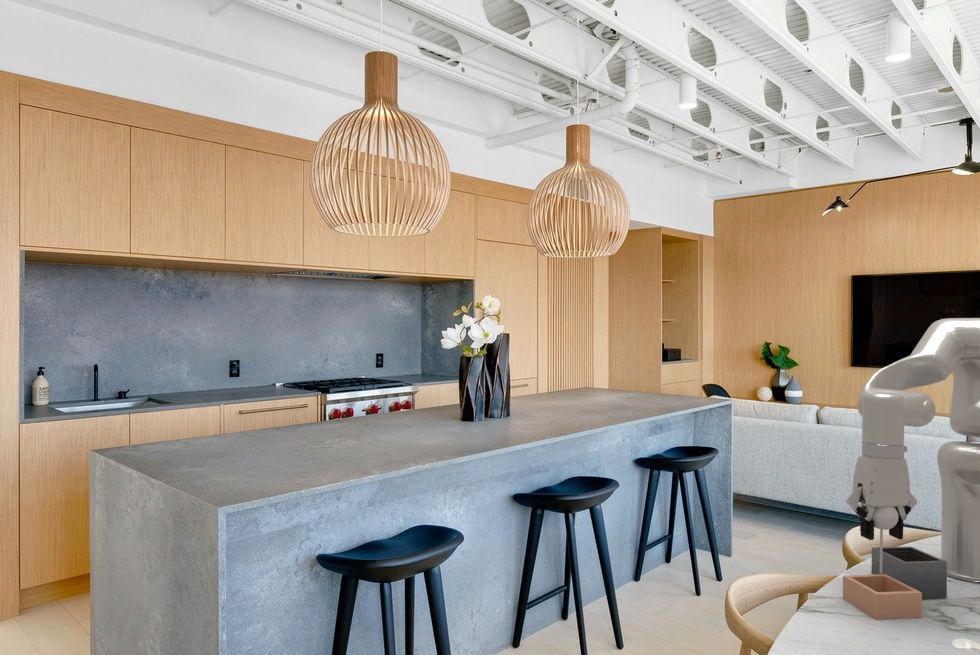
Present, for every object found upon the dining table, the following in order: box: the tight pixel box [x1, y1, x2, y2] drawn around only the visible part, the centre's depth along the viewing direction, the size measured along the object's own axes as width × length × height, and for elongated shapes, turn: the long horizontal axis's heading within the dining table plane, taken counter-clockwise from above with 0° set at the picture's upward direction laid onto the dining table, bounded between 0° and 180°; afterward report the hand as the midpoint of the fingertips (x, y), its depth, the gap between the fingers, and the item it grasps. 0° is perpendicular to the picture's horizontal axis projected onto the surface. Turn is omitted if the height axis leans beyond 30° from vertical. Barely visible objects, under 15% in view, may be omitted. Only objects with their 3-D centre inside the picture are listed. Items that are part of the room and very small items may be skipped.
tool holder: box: [842, 574, 923, 620], centre depth 133 cm, size 10×10×5 cm
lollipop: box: [866, 506, 898, 573], centre depth 133 cm, size 6×6×15 cm
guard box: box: [870, 546, 948, 601], centre depth 143 cm, size 10×10×8 cm
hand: (881, 536), depth 133 cm, fingers closed on lollipop, 5 cm apart
